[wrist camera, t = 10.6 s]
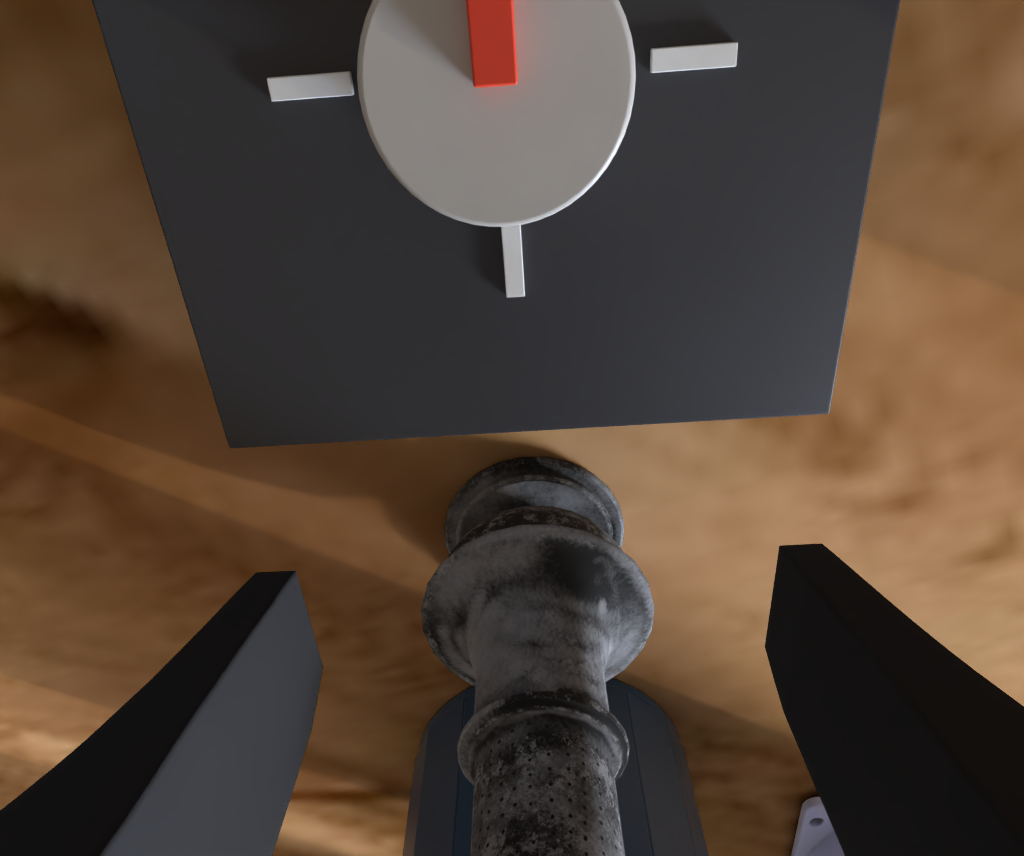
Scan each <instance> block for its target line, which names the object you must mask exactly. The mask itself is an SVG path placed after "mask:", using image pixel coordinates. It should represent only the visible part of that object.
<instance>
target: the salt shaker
mask: <svg viewBox="0 0 1024 856" xmlns="http://www.w3.org/2000/svg"><path fill="white" fill-rule="evenodd" d="M444 528H445V542H446V547H447V549H448V552H449V554H450V555H449V556H448V558H447V559H445V560H444V561H443V562H442V563H441V564H440V566H439V567H438V569H437V570H436V572H435V573H434V575H433V576H432V578H431V579H430V581H429V582H428V584H427V588H426V592H425V595H424V599H423V603H422V607H421V612H422V622H423V632H424V634H425V636H426V638H427V640H428V642H429V645H430V647H431V649H432V651H433V653H434V654H435V655H436V656H437V657H438V658H439V659H440V660H441V662H442V663H443V664H444V665H445V666H446V667H447V668H448V669H449V670H450V671H451V672H453V673H454V674H456V675H457V676H459V677H460V678H462V679H463V680H465V681H466V682H468V683H469V684H471V685H473V686H475V704H474V715H473V716H472V717H471V719H470V720H469V721H468V723H467V724H466V725H465V726H464V728H463V729H462V731H461V735H460V738H459V741H458V744H457V753H458V763H459V765H460V767H461V769H462V771H463V774H464V776H465V777H466V778H467V779H468V780H469V781H470V782H471V783H472V784H473V785H474V793H473V812H472V832H471V852H470V856H625V851H624V844H623V836H622V829H621V821H620V814H619V806H618V799H617V791H616V784H615V781H616V780H617V779H618V778H619V777H620V776H621V775H622V773H623V771H624V769H625V767H626V765H627V763H628V757H629V748H630V747H629V742H628V739H627V735H626V732H625V729H624V727H623V726H622V725H621V724H620V722H619V721H618V720H617V718H616V717H615V716H614V715H613V714H612V713H610V712H609V705H608V698H607V691H606V684H605V682H607V681H608V680H610V679H611V678H613V677H614V676H616V675H617V674H619V673H620V672H622V671H623V670H624V669H626V667H627V666H628V665H629V664H630V663H631V662H632V661H633V660H634V659H635V658H636V656H637V655H638V654H639V653H640V652H641V651H642V649H643V647H644V645H645V643H646V641H647V639H648V637H649V635H650V633H651V630H652V624H653V615H654V604H653V600H652V596H651V591H650V587H649V583H648V581H647V579H646V578H645V576H644V575H643V573H642V572H641V570H640V569H639V567H638V566H637V564H636V563H635V561H634V560H633V559H631V558H630V557H629V556H628V555H627V554H625V553H624V552H623V551H622V549H621V546H622V544H623V532H624V523H623V519H622V515H621V511H620V507H619V504H618V502H617V500H616V499H615V497H614V496H613V494H612V492H611V491H610V489H609V488H608V487H607V486H606V485H605V484H604V483H603V482H602V481H601V480H599V479H598V478H597V477H596V476H595V475H594V474H593V473H591V472H589V471H587V470H585V469H583V468H581V467H579V466H577V465H575V464H573V463H571V462H566V461H562V460H557V459H553V458H548V457H522V458H518V459H513V460H509V461H505V462H501V463H497V464H495V465H493V466H491V467H489V468H487V469H485V470H483V471H481V472H479V473H477V474H476V475H475V476H474V477H473V478H472V479H470V480H469V481H468V482H467V483H466V484H465V485H464V486H462V487H461V488H460V490H459V491H458V493H457V495H456V496H455V498H454V499H453V501H452V502H451V504H450V506H449V510H448V514H447V517H446V521H445V526H444Z"/></svg>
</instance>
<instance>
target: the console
mask: <svg viewBox="0 0 1024 856" xmlns="http://www.w3.org/2000/svg"><path fill="white" fill-rule="evenodd" d="M92 1H93V5H94V8H95V11H96V14H97V18H98V21H99V24H100V27H101V31H102V34H103V37H104V41H105V44H106V47H107V50H108V54H109V57H110V60H111V63H112V67H113V70H114V73H115V76H116V80H117V83H118V86H119V89H120V93H121V96H122V99H123V102H124V106H125V109H126V112H127V115H128V119H129V122H130V125H131V128H132V132H133V135H134V138H135V141H136V145H137V148H138V151H139V154H140V158H141V161H142V164H143V168H144V171H145V174H146V177H147V181H148V184H149V187H150V190H151V194H152V197H153V200H154V203H155V207H156V210H157V213H158V216H159V220H160V223H161V226H162V229H163V233H164V236H165V239H166V242H167V246H168V249H169V252H170V255H171V259H172V262H173V265H174V268H175V272H176V275H177V278H178V282H179V285H180V288H181V291H182V295H183V298H184V301H185V304H186V308H187V311H188V314H189V317H190V321H191V324H192V327H193V330H194V334H195V337H196V340H197V343H198V347H199V350H200V353H201V356H202V360H203V363H204V366H205V369H206V373H207V376H208V379H209V382H210V386H211V389H212V392H213V396H214V399H215V402H216V405H217V409H218V412H219V415H220V418H221V422H222V425H223V428H224V431H225V435H226V438H227V441H228V444H229V447H230V448H244V447H261V446H279V445H296V444H313V443H331V442H348V441H365V440H383V439H400V438H417V437H434V436H452V435H469V434H486V433H504V432H521V431H538V430H556V429H573V428H590V427H607V426H625V425H642V424H659V423H677V422H694V421H711V420H729V419H746V418H763V417H781V416H798V415H815V414H828V413H829V411H830V405H831V400H832V394H833V388H834V382H835V376H836V370H837V365H838V359H839V353H840V347H841V341H842V335H843V330H844V324H845V318H846V312H847V306H848V300H849V295H850V289H851V283H852V277H853V271H854V265H855V260H856V254H857V248H858V242H859V236H860V230H861V225H862V219H863V213H864V207H865V201H866V195H867V190H868V184H869V178H870V172H871V166H872V160H873V154H874V149H875V143H876V137H877V131H878V125H879V119H880V114H881V108H882V102H883V96H884V90H885V84H886V79H887V73H888V67H889V61H890V55H891V49H892V44H893V38H894V32H895V26H896V20H897V14H898V9H899V3H900V0H619V2H620V4H621V6H622V9H623V11H624V13H625V15H626V19H627V22H628V25H629V29H630V32H631V36H632V41H633V47H634V53H635V68H636V82H635V95H634V101H633V106H632V112H631V116H630V120H629V123H628V126H627V129H626V132H625V135H624V137H623V139H622V142H621V144H620V146H619V148H618V150H617V152H616V154H615V156H614V157H613V159H612V161H611V162H610V164H609V166H608V167H607V169H606V170H605V171H604V172H603V174H602V175H601V176H600V177H599V179H598V180H597V181H596V182H595V183H594V184H593V185H592V186H591V187H590V188H589V189H588V190H587V191H586V192H585V193H584V194H583V195H582V196H581V197H579V198H578V199H577V200H575V201H574V202H573V203H571V204H570V205H569V206H567V207H565V208H563V209H562V210H560V211H558V212H557V213H555V214H553V215H550V216H548V217H545V218H543V219H541V220H538V221H534V222H530V223H527V224H523V225H516V226H508V227H488V226H480V225H473V224H469V223H465V222H462V221H458V220H455V219H453V218H450V217H448V216H445V215H443V214H441V213H439V212H437V211H436V210H434V209H432V208H430V207H429V206H427V205H425V204H424V203H423V202H421V201H420V200H419V199H417V198H416V197H415V196H413V195H412V194H411V193H410V192H409V191H408V190H407V189H406V188H405V187H404V186H403V185H402V184H401V183H400V182H399V181H398V180H397V179H396V178H395V176H394V175H393V174H392V173H391V171H390V170H389V169H388V168H387V166H386V164H385V163H384V161H383V160H382V158H381V157H380V155H379V153H378V152H377V150H376V147H375V145H374V143H373V141H372V139H371V137H370V135H369V132H368V129H367V126H366V123H365V120H364V117H363V113H362V109H361V104H360V99H359V92H358V82H357V57H358V50H359V43H360V36H361V33H362V29H363V25H364V21H365V18H366V15H367V12H368V10H369V8H370V5H371V3H372V0H92Z"/></svg>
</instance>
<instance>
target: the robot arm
mask: <svg viewBox="0 0 1024 856" xmlns="http://www.w3.org/2000/svg"><path fill="white" fill-rule="evenodd" d="M765 648H766V652H767V656H768V659H769V663H770V666H771V670H772V674H773V677H774V681H775V684H776V688H777V691H778V694H779V698H780V701H781V704H782V708H783V711H784V714H785V716H786V718H787V721H788V723H789V726H790V728H791V731H792V733H793V735H794V738H795V740H796V742H797V745H798V747H799V750H800V752H801V754H802V757H803V759H804V761H805V764H806V766H807V769H808V771H809V773H810V776H811V778H812V780H813V783H814V785H815V787H816V789H817V792H818V794H819V796H820V797H812V798H809V799H807V800H806V801H805V802H804V803H803V805H802V808H801V812H800V817H799V822H798V826H797V831H796V835H795V840H794V845H793V849H792V854H791V856H1024V706H1022V705H1021V704H1019V703H1018V702H1017V701H1015V700H1014V699H1013V698H1011V697H1010V696H1009V695H1007V694H1006V693H1005V692H1003V691H1002V690H1000V689H999V688H998V687H996V686H995V685H994V684H992V683H991V682H990V681H988V680H987V679H986V678H984V677H983V676H982V675H980V674H979V673H977V672H976V671H975V670H973V669H972V668H971V667H970V666H968V665H967V664H966V663H964V662H963V661H962V660H961V659H959V658H958V657H957V656H955V655H954V654H953V653H952V652H950V651H949V650H948V649H947V648H945V647H944V646H943V645H942V644H940V643H939V642H938V641H937V640H935V639H934V638H933V637H932V636H930V635H929V634H928V633H927V632H925V631H924V630H923V629H922V628H921V627H919V626H918V625H917V624H916V623H914V622H913V621H912V620H911V619H910V618H908V617H907V616H906V615H905V614H904V613H902V612H901V611H900V610H899V609H898V608H897V607H895V606H894V605H893V604H892V603H891V602H889V601H888V600H887V599H886V598H885V597H884V596H882V595H881V594H880V593H879V592H878V591H877V590H875V589H874V588H873V587H872V586H871V585H870V584H868V583H867V582H866V581H865V580H864V579H863V578H862V577H860V576H859V575H858V574H857V573H856V572H855V571H853V570H852V569H851V568H850V567H849V566H848V565H847V564H845V563H844V562H843V561H842V560H841V559H840V558H838V557H837V556H836V555H835V554H834V553H833V552H831V551H830V550H829V549H828V548H826V547H825V546H824V545H823V544H805V545H785V546H779V553H778V560H777V567H776V574H775V581H774V588H773V595H772V602H771V608H770V615H769V622H768V629H767V636H766V643H765ZM322 669H323V665H322V662H321V658H320V655H319V651H318V648H317V644H316V641H315V637H314V633H313V630H312V626H311V623H310V619H309V616H308V612H307V609H306V605H305V601H304V598H303V594H302V591H301V587H300V584H299V580H298V577H297V573H296V571H277V572H258V573H255V574H254V575H253V576H252V577H251V578H250V579H249V580H248V581H247V582H246V583H245V584H244V585H243V586H242V587H241V588H240V589H239V590H238V591H237V592H236V593H235V594H234V595H233V597H232V598H231V599H230V600H229V601H228V602H227V603H226V604H225V605H224V606H223V607H222V608H221V609H220V610H219V611H218V612H217V613H216V614H215V615H214V616H213V617H212V618H211V619H210V621H209V622H208V623H207V624H206V625H205V626H204V627H203V628H202V629H201V630H200V631H199V632H198V633H197V634H196V635H195V636H194V637H193V638H192V639H191V640H190V641H189V642H188V643H187V644H186V645H185V646H184V647H183V648H182V649H181V650H180V651H179V652H178V653H177V654H176V655H175V656H174V657H173V658H172V659H171V660H170V661H169V662H168V663H167V664H166V665H165V666H164V667H163V668H162V669H161V670H160V671H159V672H158V673H157V674H156V675H155V676H154V677H153V678H152V679H151V680H150V681H149V682H148V683H147V684H146V685H145V686H144V687H143V688H142V689H141V690H139V691H138V692H137V693H136V694H135V695H134V696H133V697H132V698H131V699H130V700H129V701H128V702H127V703H125V704H124V705H123V706H122V707H121V708H120V709H119V710H118V711H117V712H116V713H115V714H114V715H113V716H112V717H110V718H109V719H108V720H107V721H106V722H105V723H104V724H103V725H102V726H101V727H100V728H99V729H98V730H96V731H95V732H94V733H93V734H92V735H91V736H90V737H89V738H88V739H87V740H85V741H84V742H83V743H82V744H81V745H80V746H79V747H77V748H76V749H75V750H74V751H73V752H72V753H70V754H69V755H68V756H67V757H66V758H65V759H63V760H62V761H61V762H60V763H59V764H57V765H56V766H55V767H54V768H53V769H52V770H50V771H49V772H48V773H47V774H45V775H44V776H43V777H42V778H40V779H39V780H38V781H37V782H35V783H34V784H33V785H32V786H31V787H29V788H28V789H27V790H26V791H24V792H23V793H22V794H21V795H19V796H18V797H17V798H16V799H14V800H13V801H12V802H11V803H9V804H8V805H7V806H6V807H4V808H3V809H2V810H0V856H272V854H273V851H274V848H275V845H276V842H277V839H278V835H279V832H280V829H281V826H282V823H283V820H284V817H285V813H286V810H287V807H288V804H289V801H290V798H291V795H292V792H293V788H294V785H295V782H296V779H297V776H298V772H299V769H300V766H301V763H302V760H303V756H304V753H305V750H306V747H307V743H308V740H309V737H310V733H311V729H312V724H313V719H314V714H315V709H316V704H317V698H318V692H319V687H320V681H321V675H322Z"/></svg>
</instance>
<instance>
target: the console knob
mask: <svg viewBox="0 0 1024 856" xmlns="http://www.w3.org/2000/svg"><path fill="white" fill-rule="evenodd" d="M357 82H358V92H359V99H360V104H361V109H362V113H363V117H364V120H365V123H366V126H367V129H368V132H369V135H370V137H371V139H372V141H373V143H374V145H375V147H376V150H377V152H378V153H379V155H380V157H381V158H382V160H383V161H384V163H385V164H386V166H387V168H388V169H389V170H390V171H391V173H392V174H393V175H394V176H395V178H396V179H397V180H398V181H399V182H400V183H401V184H402V185H403V186H404V187H405V188H406V189H407V190H408V191H409V192H410V193H411V194H412V195H413V196H415V197H416V198H417V199H419V200H420V201H421V202H423V203H424V204H425V205H427V206H429V207H430V208H432V209H434V210H436V211H437V212H439V213H441V214H443V215H445V216H448V217H450V218H453V219H455V220H458V221H462V222H465V223H469V224H473V225H480V226H488V227H508V226H516V225H523V224H527V223H530V222H534V221H538V220H541V219H543V218H545V217H548V216H550V215H553V214H555V213H557V212H558V211H560V210H562V209H563V208H565V207H567V206H569V205H570V204H571V203H573V202H574V201H575V200H577V199H578V198H579V197H581V196H582V195H583V194H584V193H585V192H586V191H587V190H588V189H589V188H590V187H591V186H592V185H593V184H594V183H595V182H596V181H597V180H598V179H599V177H600V176H601V175H602V174H603V172H604V171H605V170H606V169H607V167H608V166H609V164H610V162H611V161H612V159H613V157H614V156H615V154H616V152H617V150H618V148H619V146H620V144H621V142H622V139H623V137H624V135H625V132H626V129H627V126H628V123H629V120H630V116H631V112H632V106H633V101H634V95H635V82H636V68H635V53H634V47H633V41H632V36H631V32H630V29H629V25H628V22H627V19H626V15H625V13H624V11H623V9H622V6H621V4H620V2H619V0H372V3H371V5H370V8H369V10H368V12H367V15H366V18H365V21H364V25H363V29H362V33H361V36H360V43H359V50H358V57H357Z"/></svg>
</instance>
